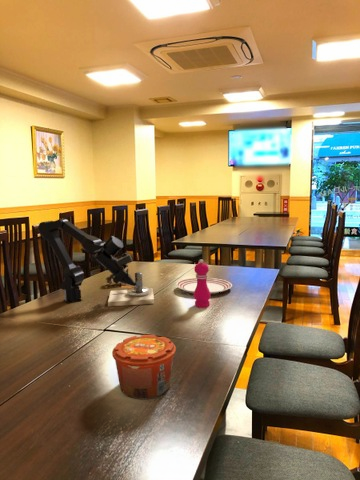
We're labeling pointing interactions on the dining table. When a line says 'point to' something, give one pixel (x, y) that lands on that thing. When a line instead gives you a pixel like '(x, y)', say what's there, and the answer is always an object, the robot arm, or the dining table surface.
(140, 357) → the food container
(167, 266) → the dining table surface
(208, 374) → the dining table surface
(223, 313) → the dining table surface
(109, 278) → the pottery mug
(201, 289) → the pepper mill
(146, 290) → the shiny grey rounded pieces
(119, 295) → the stand
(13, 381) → the dining table surface
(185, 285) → the dinner plate
